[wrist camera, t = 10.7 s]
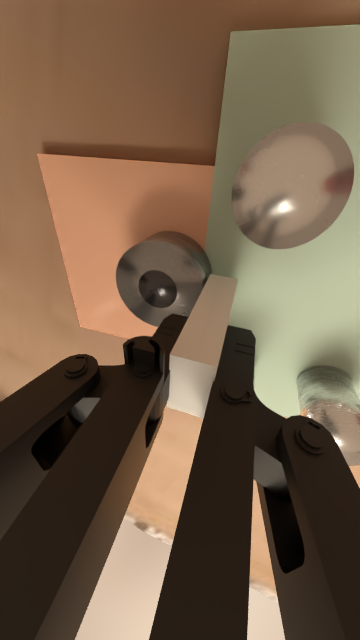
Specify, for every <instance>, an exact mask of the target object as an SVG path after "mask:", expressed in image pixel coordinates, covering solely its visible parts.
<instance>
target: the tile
mask: <svg viewBox="0 0 360 640" xmlns="http://www.w3.org/2000/svg"><path fill="white" fill-rule="evenodd" d="M37 156H38V160H39V164H40V168H41V172H42V176H43V180H44V184H45V188H46V193H47V197H48V201H49V205H50V209H51V213H52V217H53V221H54V225H55V229H56V233H57V237H58V241H59V245H60V249H61V253H62V257H63V261H64V265H65V269H66V273H67V277H68V281H69V285H70V289H71V293H72V297H73V301H74V305H75V309H76V313H77V317H78V321H79V325H80V327H84V328H88V329H91V330H95V331H99V332H103V333H107V334H111V335H115V336H119V337H123V338H127V339H131V338H134V337H137V336H151V337H152V336H153V334H154V333H155V332H156V330H157V328H158V327H156V326H152V325H150V324H147V323H146V322H144V321H142V320H140V319H139V318H138V317H136V316H135V315H134V314H133V313H132V312H131V311H130V310H129V309H128V308H127V307H126V305H125V304H124V302H123V300H122V299H121V297H120V294H119V292H118V289H117V284H116V269H117V265H118V263H119V260H120V259H121V257H122V255H123V254H124V253H125V252H126V251H127V250H128V249H130V248H131V247H133V246H135V245H136V244H138V243H140V242H141V241H143V240H145V239H146V238H148V237H150V236H151V235H153V234H155V233H158V232H162V231H175V232H180V233H182V234H185V235H187V236H189V237H191V238H192V239H193V240H195V241H196V242H197V243H198V244H199V245H200V246H201V247H202V248H203V249H204V251H205V244H206V235H207V227H208V218H209V210H210V202H211V193H212V185H213V176H214V168H215V166H208V165H194V164H180V163H166V162H152V161H138V160H124V159H109V158H95V157H81V156H67V155H53V154H37Z"/></svg>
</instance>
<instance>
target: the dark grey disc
mask: <svg viewBox="0 0 360 640" xmlns="http://www.w3.org/2000/svg"><path fill="white" fill-rule="evenodd" d="M210 274H212V268H211V264H210V261H209V258H208V256H207V254H206V253H205V251H204V249H203V248H202V247H201V246H200V245H199V244H198V243H197V242H196V241H195V240H193V239H192V238H191V237H189V236H187V235H185V234H182V233H180V232H175V231H162V232H158V233H155V234H153V235H151V236H150V237H148V238H146V239H145V240H143V241H141V242H140V243H138V244H136V245H135V246H133V247H131V248H130V249H128V250H127V251H126V252H125V253H124V254H123V255H122V257H121V259H120V260H119V263H118V265H117V269H116V284H117V289H118V292H119V294H120V297H121V299H122V300H123V302H124V304H125V305H126V307H127V308H128V309H129V310H130V311H131V312H132V313H133V314H134V315H135V316H136V317H138V318H139V319H140V320H142V321H144V322H146V323H147V324H150V325H152V326H156V327H159V325H160V324H161V322H162V321H163V319H164V318H166V317H167V316H169V315H171V314H172V313H173V314H177V315H182V316H186V317H189V316H190V314H191V312H192V310H193V308H194V306H195V304H196V302H197V300H198V298H199V296H200V294H201V292H202V290H203V288H204V286H205V284H206V282H207V280H208V278H209V276H210Z"/></svg>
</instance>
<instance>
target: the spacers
mask: <svg viewBox="0 0 360 640" xmlns="http://www.w3.org/2000/svg"><path fill="white" fill-rule="evenodd" d="M353 182H354V162H353V157H352V153H351V151H350V148H349V146H348V145H347V143H346V141H345V140H344V139H343V137H342V136H341V135H340V134H339V133H337V132H336V131H335V130H334V129H332V128H330V127H328V126H326V125H323V124H320V123H316V122H297V123H293V124H289V125H286V126H283V127H280V128H278V129H276V130H275V131H273V132H271V133H270V134H268V135H267V136H265V137H264V138H263V139H261V140H260V141H259V142H258V143H257V144H256V145H255V146H254V147H253V148H252V149H251V150H250V152H249V153H248V154H247V156H246V157H245V158H244V160H243V162H242V163H241V165H240V167H239V169H238V171H237V174H236V177H235V180H234V183H233V188H232V196H231V205H232V212H233V215H234V219H235V221H236V224H237V225H238V227H239V229H240V230H241V232H242V233H243V234H244V235H245V236H246V237H247V238H248V239H249V240H251V241H252V242H253V243H255V244H257V245H259V246H262V247H265V248H270V249H289V248H294V247H297V246H300V245H303V244H305V243H308V242H309V241H311V240H313V239H315V238H316V237H318V236H319V235H321V234H322V233H323V232H324V231H326V230H327V229H328V228H329V227H330V226H331V225H332V224H333V223H334V222H335V220H336V219H337V218H338V217H339V215H340V214H341V212H342V211H343V209H344V207H345V205H346V203H347V201H348V199H349V196H350V193H351V191H352V186H353ZM255 373H256V359H255V363H254V382H253V385H254V391H255ZM296 386H297V393H298V400H299V407H300V414H301V415H302V416H305V417H309V418H312V419H313V420H315V421H317V422H319V423H320V424H322V425H323V426H324V427H325V428H326V429H327V430H328V431H329V432H330V433H331V435H332V436H333V438H334V439H335V440H336V442H337V444H338V446H339V448H340V450H341V452H342V454H343V456H344V458H345V460H346V462H347V464H348V466H354V465H360V399H359V397H358V395H357V392H356V390H355V387H354V385H353V382H352V380H351V378H350V376H349V375H348V374H347V373H346V372H345V371H343V370H341V369H339V368H337V367H333V366H326V365H321V366H314V367H310V368H307V369H305V370H304V371H302V372H301V373H300V374H299V375H298V377H297V379H296Z"/></svg>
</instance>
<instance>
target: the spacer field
mask: <svg viewBox="0 0 360 640" xmlns="http://www.w3.org/2000/svg"><path fill="white" fill-rule="evenodd" d="M297 122H316V123H320V124H323V125H326V126H328V127H330V128H332V129H334V130H335V131H336V132H337V133H339V134H340V135H341V136H342V137H343V139H344V140H345V141H346V143H347V145H348V146H349V148H350V151H351V153H352V157H353V162H354V182H353V186H352V191H351V193H350V196H349V199H348V201H347V203H346V205H345V207H344V209H343V211H342V212H341V214H340V215H339V217H338V218H337V219H336V220H335V222H334V223H333V224H332V225H331V226H330V227H329V228H328V229H327V230H326V231H324V232H323V233H322V234H321V235H319V236H318V237H316V238H315V239H313V240H311V241H309V242H308V243H305V244H303V245H300V246H297V247H294V248H289V249H270V248H265V247H262V246H259V245H257V244H255V243H253V242H252V241H251V240H249V239H248V238H247V237H246V236H245V235H244V234H243V233H242V232H241V230H240V229H239V227H238V225H237V224H236V221H235V219H234V215H233V212H232V205H231V196H232V188H233V183H234V180H235V177H236V174H237V171H238V169H239V167H240V165H241V163H242V162H243V160H244V158H245V157H246V156H247V154H248V153H249V152H250V150H251V149H252V148H253V147H254V146H255V145H256V144H257V143H258V142H259V141H260V140H261V139H263V138H264V137H265V136H267V135H268V134H270V133H271V132H273V131H275V130H276V129H278V128H280V127H283V126H286V125H289V124H293V123H297ZM205 253H206V254H207V256H208V258H209V261H210V264H211V268H212V274H213V275H219V276H224V277H230V278H235V279H238V283H237V287H236V292H235V296H234V301H233V305H232V310H231V314H230V318H229V323H228V325H230V326H235V327H239V328H244V329H248V330H251V331H252V333H253V334H254V336H255V338H256V345H255V359H256V373H255V393H256V395H257V397H258V398H259V400H260V401H261V402H262V403H263V404H264V405H265V406H266V407H268V408H269V409H271V410H272V411H274V412H275V413H277V414H279V415H281V416H283V417H287V418H289V417H290V416H296V415H301V414H300V407H299V400H298V393H297V386H296V379H297V377H298V375H299V374H300V373H301V372H302V371H304V370H305V369H307V368H310V367H314V366H321V365H326V366H333V367H337V368H339V369H341V370H343V371H345V372H346V373H347V374H348V375H349V376H350V378H351V380H352V382H353V385H354V387H355V390H356V392H357V395H358V397H359V399H360V24H355V25H337V26H319V27H302V28H284V29H266V30H248V31H231V33H230V42H229V50H228V59H227V67H226V75H225V84H224V92H223V101H222V109H221V117H220V126H219V134H218V143H217V151H216V159H215V168H214V176H213V185H212V193H211V202H210V210H209V218H208V227H207V235H206V244H205Z"/></svg>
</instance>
